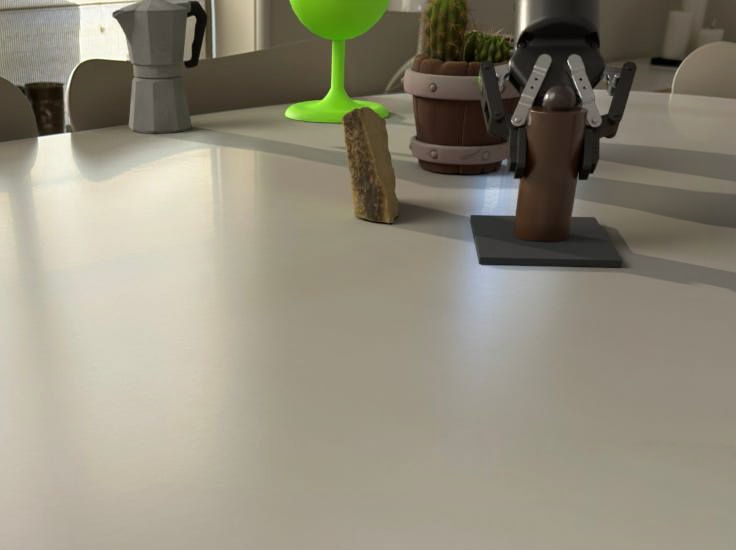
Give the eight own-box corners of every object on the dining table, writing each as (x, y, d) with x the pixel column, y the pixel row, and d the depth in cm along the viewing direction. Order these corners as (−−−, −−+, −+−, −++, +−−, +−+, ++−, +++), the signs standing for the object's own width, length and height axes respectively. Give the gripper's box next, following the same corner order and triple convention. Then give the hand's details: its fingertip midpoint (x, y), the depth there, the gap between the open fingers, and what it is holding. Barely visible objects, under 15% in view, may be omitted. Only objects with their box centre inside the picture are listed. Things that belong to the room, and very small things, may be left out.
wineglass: (358, 125, 154) (364, -20, 144) (265, 117, 161) (264, -22, 151) (406, 111, 165) (414, -25, 155) (316, 104, 172) (319, -26, 162)
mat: (594, 223, 104) (595, 217, 103) (621, 267, 90) (622, 260, 90) (469, 221, 105) (470, 214, 104) (478, 264, 92) (479, 257, 91)
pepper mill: (565, 229, 99) (587, 80, 92) (571, 242, 95) (595, 88, 88) (510, 228, 100) (529, 80, 93) (515, 241, 96) (534, 88, 89)
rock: (355, 170, 115) (301, 171, 107) (405, 104, 109) (351, 100, 102) (415, 246, 113) (363, 252, 106) (468, 183, 107) (417, 184, 100)
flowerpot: (488, 152, 135) (507, -33, 124) (542, 175, 123) (570, -28, 112) (380, 158, 133) (390, -30, 121) (425, 182, 120) (441, -25, 109)
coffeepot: (139, 137, 147) (130, -15, 137) (104, 129, 153) (92, -17, 143) (228, 125, 155) (225, -19, 145) (191, 118, 161) (185, -21, 151)
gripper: (482, -29, 93) (474, 145, 90) (650, -29, 91) (648, 147, 88) (472, 35, 100) (464, 198, 97) (628, 36, 99) (625, 201, 96)
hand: (552, 173), depth 93 cm, fingers closed on pepper mill, 5 cm apart
